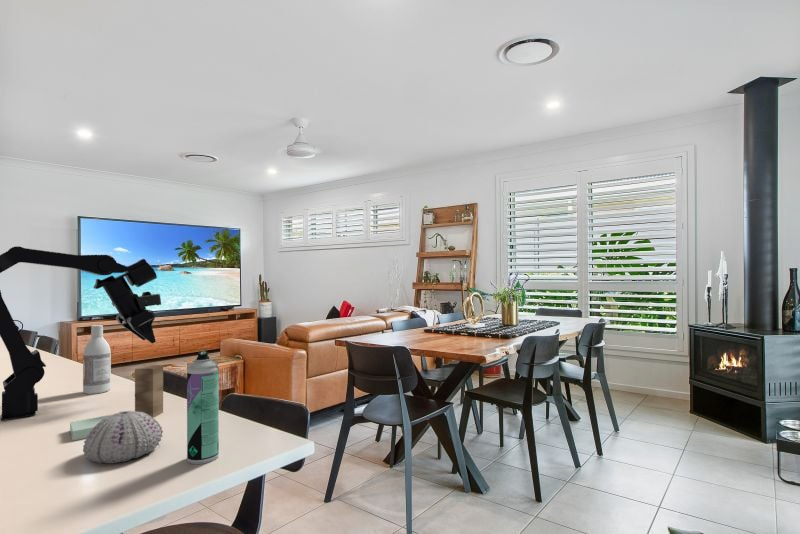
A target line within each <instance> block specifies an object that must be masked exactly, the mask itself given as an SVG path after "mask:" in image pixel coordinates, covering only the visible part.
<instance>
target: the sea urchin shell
mask: <svg viewBox="0 0 800 534" xmlns="http://www.w3.org/2000/svg"><path fill="white" fill-rule="evenodd" d="M109 415H110V416H108V417H106V418H104V419H103V420H102V421H100V422H99V423H98V424H97V425H96V426H95V427H94V428H93V429H92V430H91V431H90V433H89V435H87V438H85V440H84V441H83V443H84V444H83V446H82V447H83V449H82V451H83V454H84V455H83V456H85V458H86V459H89V461H91V462H94V463H96V464H97V463H98V464H99V463H100V464H105V463H106V464H117V463H118V464H119V463H123V462H127V461H128V462H129V461H130V460H131V459H137V458H138V459H139V458H140V457H143V455H146V454H149V453H150V452H152V451H153V450H155V448H156V447H158V446H159V445H160V442H161V441H162V438H163V433H164V431H163V427H162V425H161V424H160V423H159V422H158V420H156V418H155V417H154V418H153V417H151V416H150V415H148V414H146V413H143V412H136V411H135V410H133V411H132V410H124V411H119V412H116V413H113V414H109Z"/></svg>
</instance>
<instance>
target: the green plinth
mask: <svg viewBox="0 0 800 534" xmlns="http://www.w3.org/2000/svg"><path fill="white" fill-rule="evenodd" d="M110 415H111V414H108V415H102V416H97V417H91V418H86V419H80V420H74V421H70V422H69V432H70V435H71V438H72V441H74V442H75V441H79V440H84V439H87V435H89V433H90V431H91V430H92V429H93V428H94V427H95V426H96V425H97V424H98V423H99V422H100V421H102V420H103V419H104V418H106V417H108V416H110Z"/></svg>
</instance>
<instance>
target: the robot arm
mask: <svg viewBox="0 0 800 534" xmlns="http://www.w3.org/2000/svg"><path fill="white" fill-rule="evenodd" d="M20 263H22V264H23V263H25V264H31V265H41V266H48V267H49V266H50V267H56V268H57V267H59V268H67V269H74V270H78V271H81V272H85V273H89V274H92V275H96V276H108V277H105V278H103V279H100V278H96V279H95V284H94V285H93V289H95V290H98V289H100V288H103V289H104V291H105V293H106V295H107V296H108V298H109V299H110V301H111V305H112V307H115V309H116V310H117V312H118V313H117V314H116V316H115V319H116V321H117V323H118V324H120V326H121V327H123V328H124V329H126V330H128V331H129V332H131V333H132V334H133V335H135V336H136V337H138V338H139V339H141V340H142V341H145V340H146V341H148V342H149V343H151V344H154V343H156V337H155V334H154V330H153V322H154V321H155V318H156V314H155V313H154V311H153V310H150V309H148V308H147V307H151V306H161V305H162V299H161V298H162V297H161V294H160V293H151V292H150V291H143V292H142V294H141V295H138V294H137V293H134V292H133V290H132V288H131V287H134V286H135V287H136V288H139V287H141V286H143V285H146V284H148V283H150V282H151V281H154V280H156V279H158V277H157V276H158V275H157V273H156V271H155V269H154V268H153V267H152V266H151V264H150V263H148V261H147V260H146V259H145V258H141V259H140V260H139V259H138V261H137V262H134V263H132V264H130V265H127V266H126V265H125V264H121V263H119V262H117V260H116V259H115V258H114V257H113V256H112V255H110V254H109V255H108V254H78V255H77V254H71V253H64V252H55V251H48V250H41V249H35V248H33V249H32V248H25V247H22V246H19V245H18V246H12V247H10V248H9V249H8V250H7V251H5V252H3V253H1V254H0V274H2V273H3V272H5V271H6V270H8V269H10V268H13V266H15V265H18V264H20ZM113 274H119V275H118V276H113ZM109 275H110V276H109ZM0 338H1V340H2V342H3V344H4V346H5V348H6V350H7V352H8V354H9V355H8V356H9V359H10V363H11V368H12V371H13V372H12V373H11V374H10V375H9V376H8V377H6V379H4V380H3V382H2V385H3V389H4V391H2V392H1V414H0V415H1V416H0V421H6V420H5V419H8V420H14V419H19V418H25V417H31V416H33V417H34V416H36V412H37V411H39V409H38V406H39V402H38V400H39V395H38V392H36V389H35V385H36V384H38V383H39V382H40V381H41V380H42V379H43V378H44V376H45V369H44V368H46V367H47V365H46V363H45V362H44V361H43V360H42V358H41V354H40V351H39V350H38V349H35V350H32V351H31V350H30V349H29V348H28V346H27V345H26V343H25V340H24V339H23V336H22V335H21V333H20V330H19V329H18V327H17V324H16V322H15V321H14V318H13V317H12V314H11V313H10V310H9V308H8V307H7V304H6V303H5V300H4V299H3V296H2V291H1V290H0ZM13 418H14V419H13Z"/></svg>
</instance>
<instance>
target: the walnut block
mask: <svg viewBox="0 0 800 534" xmlns="http://www.w3.org/2000/svg"><path fill="white" fill-rule="evenodd" d="M134 411H136V412H143V413H146V414H148V415H150V416H151V417H153V418H154V419H155V418H156V417H157V416H159V415H161V414H163V413H164V365H163V364H146V365H142V366H139V367H136V368H134Z"/></svg>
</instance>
